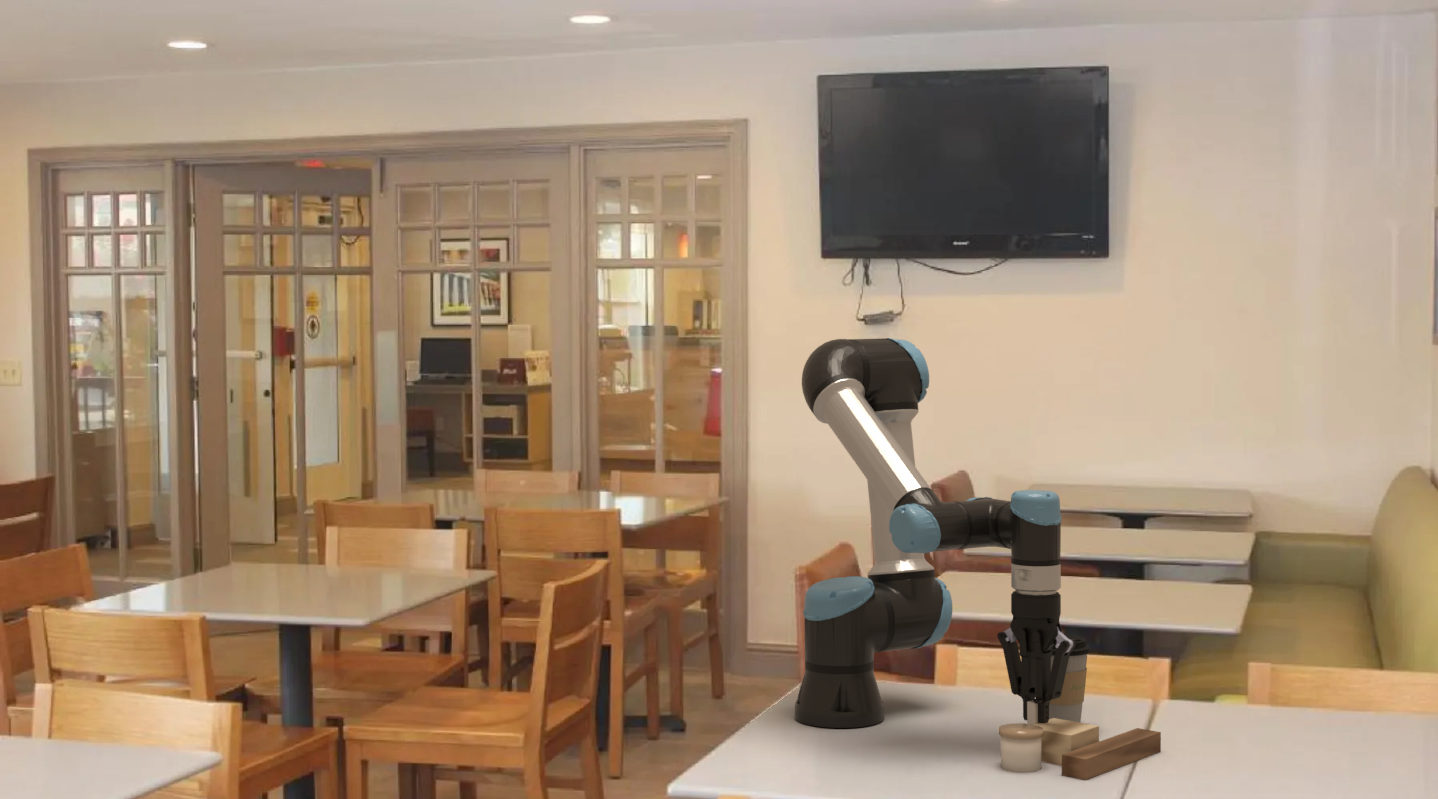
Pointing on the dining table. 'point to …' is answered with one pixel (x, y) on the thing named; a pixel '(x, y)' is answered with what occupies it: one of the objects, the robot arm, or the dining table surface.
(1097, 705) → the dining table surface
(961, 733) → the dining table surface
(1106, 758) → the board
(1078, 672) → the coffee cup
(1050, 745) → the block
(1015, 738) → the sugar pot
